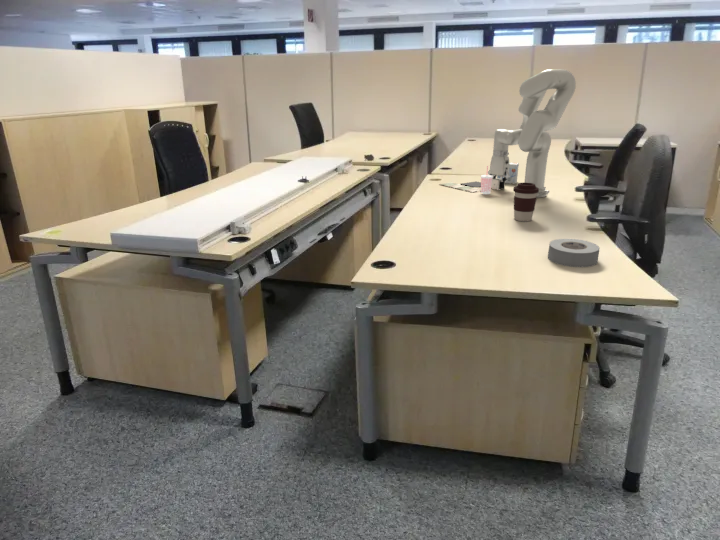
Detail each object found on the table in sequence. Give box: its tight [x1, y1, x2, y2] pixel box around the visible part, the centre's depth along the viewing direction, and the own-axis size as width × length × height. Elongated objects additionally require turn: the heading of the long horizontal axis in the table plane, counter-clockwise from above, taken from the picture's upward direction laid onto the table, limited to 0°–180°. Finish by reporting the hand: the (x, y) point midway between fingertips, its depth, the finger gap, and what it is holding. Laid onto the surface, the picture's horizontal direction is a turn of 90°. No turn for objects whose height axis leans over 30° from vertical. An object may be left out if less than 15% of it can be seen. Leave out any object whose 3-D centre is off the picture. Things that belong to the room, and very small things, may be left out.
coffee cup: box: [512, 182, 539, 222], centre depth 221 cm, size 10×10×15 cm
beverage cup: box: [480, 165, 493, 195], centre depth 271 cm, size 6×6×14 cm
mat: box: [461, 181, 481, 188], centre depth 295 cm, size 12×12×1 cm
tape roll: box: [547, 238, 600, 268], centre depth 174 cm, size 15×15×5 cm
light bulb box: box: [496, 162, 520, 185], centre depth 300 cm, size 11×7×11 cm, turn 68°
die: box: [491, 177, 506, 191], centre depth 284 cm, size 5×5×5 cm
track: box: [438, 182, 481, 193], centre depth 288 cm, size 26×9×1 cm, turn 33°
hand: (497, 187), depth 285 cm, fingers closed on die, 4 cm apart
